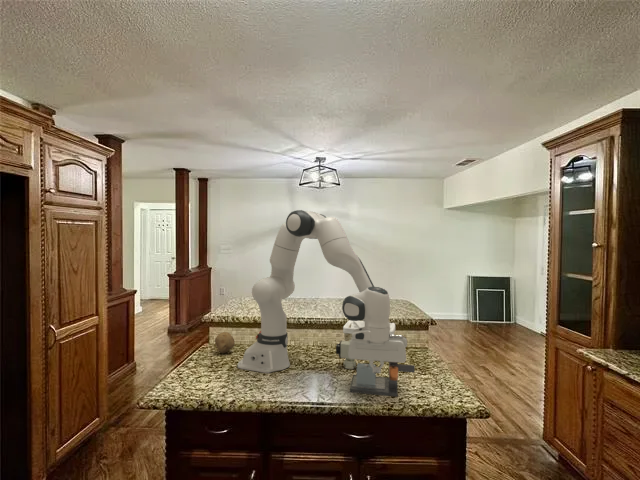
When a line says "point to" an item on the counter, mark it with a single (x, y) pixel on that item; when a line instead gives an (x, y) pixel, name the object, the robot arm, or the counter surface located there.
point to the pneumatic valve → (345, 354)
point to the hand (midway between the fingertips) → (376, 372)
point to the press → (381, 383)
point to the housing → (365, 374)
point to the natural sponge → (224, 342)
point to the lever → (393, 373)
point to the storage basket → (353, 325)
